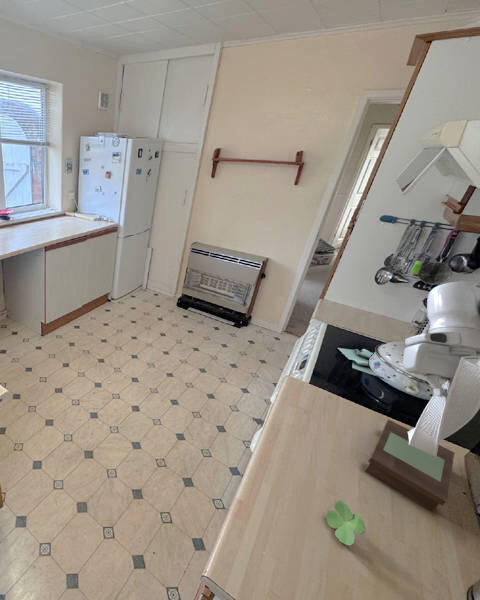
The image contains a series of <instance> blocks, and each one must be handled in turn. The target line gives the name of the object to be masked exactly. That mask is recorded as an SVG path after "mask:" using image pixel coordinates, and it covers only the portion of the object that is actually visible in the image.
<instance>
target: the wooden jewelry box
mask: <svg viewBox="0 0 480 600" xmlns="http://www.w3.org/2000/svg"><path fill="white" fill-rule="evenodd" d="M410 430H411V429H409V428H407V427H404V426H403V425H401V424H399V423H396V422H394V421H393V420H391V419H387V420H386V421H385V424H384V426H383V428H382V430H381V432H380V435H379V437H378V439H377V441H376V444H375V446H374V448H373V450H372V452H371V454H370V456H369V459H368V461H367V462H368V464H367V465H366V467H365V469H364V472H366V473H367V474H369V475H371V476H372V477H374V478H376V479H378V480H379V481H380V482H382V483H384V484H386V485H387V486H389V487H391V488H392V489H394V490H395V491H397V492H399V493H401V494H402V495H403V496H405V497H407V498H408V499H410V500H412V501H414V502H415V503H416V504H418V505H420V506H421V507H423V508H425V509H427V510H428V511H430V512H433V511H434V510H435V509H436V508H437V507H438V506H439V505H441V506H444V505H445V504H446V503H447V501H448V494H449V490H450V482H451V478H452V477H451V476H452V471H453V465H454V459H455V452H454V451H452V450H450V449H449V448H447V447H444V446H442V445H441V444H439V445H438V451H437V457H435V456H433V455H431V454H429V453H426V452H424V451H422V450H420V449H417V448H415V447H413V446H411V445H409V437H408V431H410Z"/></svg>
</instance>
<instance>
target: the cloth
mask: <svg viewBox="0 0 480 600" xmlns="http://www.w3.org/2000/svg"><path fill="white" fill-rule="evenodd" d="M337 349H338V350H339V352H341V354H343V355H344V356H345V357H346V358H347V359H348V360H351V361H352V366H351V368H352V369H353V370H357V371H360V372H362V373H365V374H369V375H371V376H375V377H378V376H377V375H376V374H375V373H374V372H373V371H372V370H371V368H370V367H369V365H368V360H369V358H370V356H371V355H372V354H373V353H374V352H371V351H369V350H368V349H366V348H363V349H361V350H359V349H357V348H355V349H349V348H343V347H342V348H341V347H337ZM378 378H379V377H378Z"/></svg>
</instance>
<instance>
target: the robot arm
mask: <svg viewBox="0 0 480 600" xmlns="http://www.w3.org/2000/svg"><path fill="white" fill-rule="evenodd" d="M426 300H427V301H426V316H427V317H426V318H427V319H428V322H429V327H428V330H427V331H428V332H425V333H420V334H416V335H413V336H410V337H408V338H407V337H406V338H405V340H404V342H405V343H404V344H405V346H406V347H405V348H404V350H403V357H402V365H403V368H404V370H405V371H406V372H407V373H410V374H413V375H417V376H424V377H426V382H427V383H428V384H429V386H430V387H431V389H432V390H433V396H434V395H435V396H438V397H447V389H443V388H442V386H443V385H442V384H441V383H440V382H441V381H442V380H444V381H450V378H454V376H455V373H456V370H457V368H458V365H459V363H460V360H461V358H462V357H465V356H479V357H480V287H479V286H476V285H475V284H473V283H472V282H470V281H466V280H455V281H448V282H445V283H442V284H438V285H437V286H435V287H433V288H432V289H431V290H430V291H429V293H428V294H427V299H426ZM465 359H479V358H465Z"/></svg>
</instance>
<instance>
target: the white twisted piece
mask: <svg viewBox="0 0 480 600" xmlns="http://www.w3.org/2000/svg"><path fill="white" fill-rule="evenodd" d="M465 358H479V359H465ZM441 386H442V388H443V389H447V397H438V396H435V395H434V394H433V395H432V397H431V398H430V400H429V401H428V403H427V404H426V405H425V408H424V409H423V411H422V413H421V414H420V417H419V419H418V421H417V422H416V425H415V427H413V428H412V429H409V430H410V431H408V437H409V445H411V446H413V447H415V448H417V449H420V450H422V451H424V452H426V453H429V454H431V455H433V456H435V457H437V451H438V445H440V442H442V441H443V440H445V439H446V438H448V437H450V436H452V435H454V434H455V433H456V432H458V431H459V430H461V429H462V428H463V427H464V426H466V425H467V424H468V423H469V422H470V421H471V420H472V419H473V418H474V417H475V416H476V414H477V413H478V412H479V410H480V357H479V356H465V357H462V358H461V360H460V363H459V365H458V368H457V370H456V373H455V376H454V378H450V381H448V380H446V381H445V382H444V383H443V384H442V385H441Z"/></svg>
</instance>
